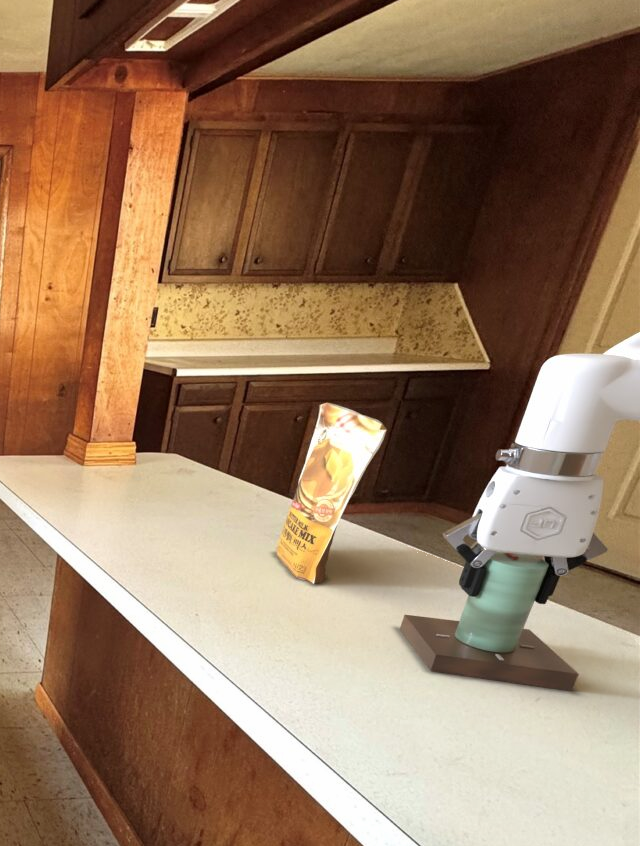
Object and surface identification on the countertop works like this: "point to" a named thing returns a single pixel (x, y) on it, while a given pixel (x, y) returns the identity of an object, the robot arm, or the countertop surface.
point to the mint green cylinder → (502, 602)
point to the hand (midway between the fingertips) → (501, 594)
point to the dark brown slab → (487, 656)
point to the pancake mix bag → (326, 487)
